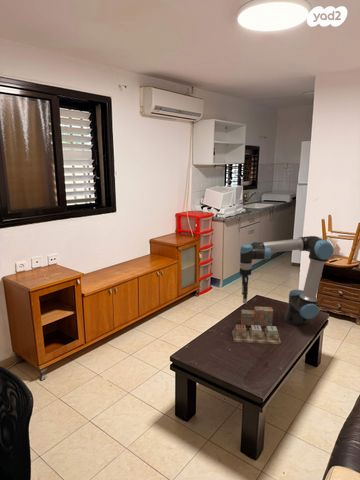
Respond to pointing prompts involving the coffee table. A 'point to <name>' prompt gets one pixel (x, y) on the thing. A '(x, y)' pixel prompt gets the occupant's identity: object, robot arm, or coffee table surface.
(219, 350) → the coffee table surface
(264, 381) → the coffee table surface
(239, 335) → the button board
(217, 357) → the coffee table surface
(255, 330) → the tile
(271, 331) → the light grey block
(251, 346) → the coffee table surface
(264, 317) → the stack of blocks
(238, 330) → the tile
